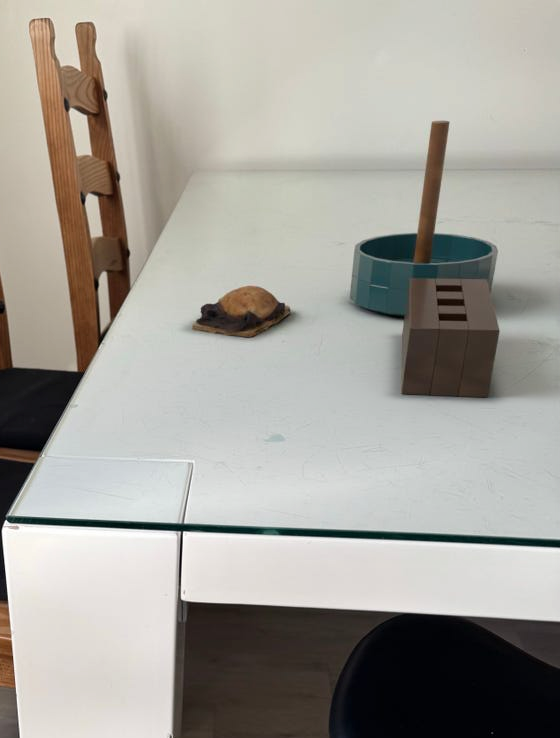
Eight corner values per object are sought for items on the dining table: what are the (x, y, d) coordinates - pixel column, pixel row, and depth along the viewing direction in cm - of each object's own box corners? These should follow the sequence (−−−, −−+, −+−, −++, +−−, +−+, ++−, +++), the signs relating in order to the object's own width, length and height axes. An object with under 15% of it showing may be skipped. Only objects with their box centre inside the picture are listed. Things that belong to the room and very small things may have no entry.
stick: (425, 295, 115) (449, 120, 105) (425, 299, 114) (450, 122, 104) (409, 294, 116) (431, 120, 106) (409, 298, 114) (431, 122, 104)
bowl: (483, 286, 119) (492, 233, 116) (492, 323, 107) (502, 265, 104) (352, 284, 123) (357, 232, 120) (346, 319, 111) (351, 263, 107)
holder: (476, 339, 103) (486, 279, 100) (487, 397, 89) (499, 330, 86) (401, 337, 105) (409, 277, 101) (401, 394, 91) (410, 328, 88)
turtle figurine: (232, 305, 118) (233, 273, 116) (297, 314, 114) (299, 280, 112) (184, 329, 111) (185, 295, 109) (252, 339, 107) (254, 303, 105)
